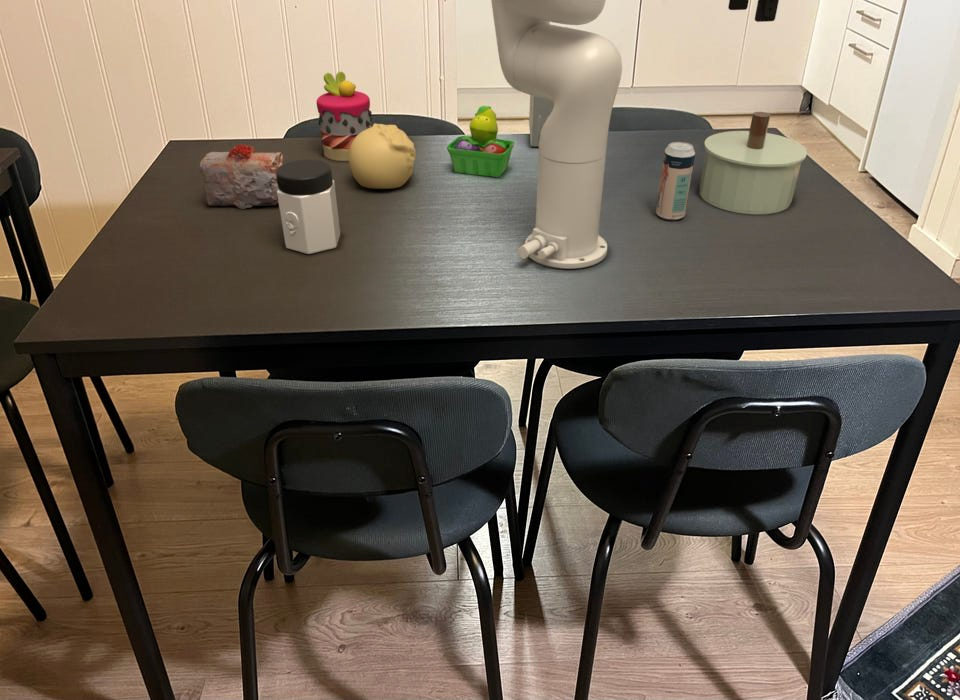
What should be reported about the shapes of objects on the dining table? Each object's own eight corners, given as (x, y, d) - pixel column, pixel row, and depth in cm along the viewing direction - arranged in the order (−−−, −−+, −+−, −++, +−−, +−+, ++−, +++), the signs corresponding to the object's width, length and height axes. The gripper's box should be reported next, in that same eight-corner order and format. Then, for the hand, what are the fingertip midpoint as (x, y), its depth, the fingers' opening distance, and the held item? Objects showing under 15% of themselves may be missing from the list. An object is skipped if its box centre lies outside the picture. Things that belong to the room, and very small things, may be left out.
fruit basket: (445, 173, 143) (444, 114, 136) (461, 158, 149) (460, 100, 143) (503, 181, 139) (504, 120, 133) (516, 165, 146) (518, 106, 140)
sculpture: (425, 190, 136) (422, 131, 130) (360, 200, 132) (354, 139, 126) (406, 168, 145) (403, 112, 139) (345, 177, 141) (339, 119, 135)
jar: (274, 246, 117) (261, 172, 111) (308, 226, 123) (298, 155, 117) (319, 259, 114) (308, 183, 107) (352, 238, 120) (344, 165, 113)
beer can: (664, 207, 129) (674, 138, 123) (689, 215, 127) (701, 145, 120) (650, 216, 126) (660, 146, 120) (676, 224, 124) (687, 153, 117)
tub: (769, 222, 124) (781, 173, 120) (683, 198, 133) (691, 151, 128) (804, 194, 134) (816, 147, 130) (722, 173, 143) (731, 128, 138)
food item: (293, 192, 135) (284, 138, 130) (284, 210, 129) (275, 154, 123) (216, 193, 135) (205, 139, 129) (203, 211, 128) (191, 155, 123)
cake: (385, 149, 154) (379, 73, 145) (351, 165, 146) (343, 86, 138) (345, 140, 158) (338, 66, 150) (311, 155, 151) (300, 78, 143)
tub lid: (782, 178, 119) (791, 137, 116) (686, 154, 128) (692, 116, 125) (820, 150, 130) (830, 112, 126) (729, 130, 139) (735, 94, 135)
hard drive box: (568, 148, 154) (574, 45, 143) (530, 148, 154) (534, 45, 143) (562, 124, 167) (568, 28, 156) (528, 124, 167) (531, 28, 156)
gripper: (725, -110, 120) (707, 6, 130) (777, -103, 106) (752, 26, 116) (769, -111, 121) (748, 5, 131) (826, -104, 107) (798, 25, 117)
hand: (750, 15), depth 124 cm, fingers open, 9 cm apart
